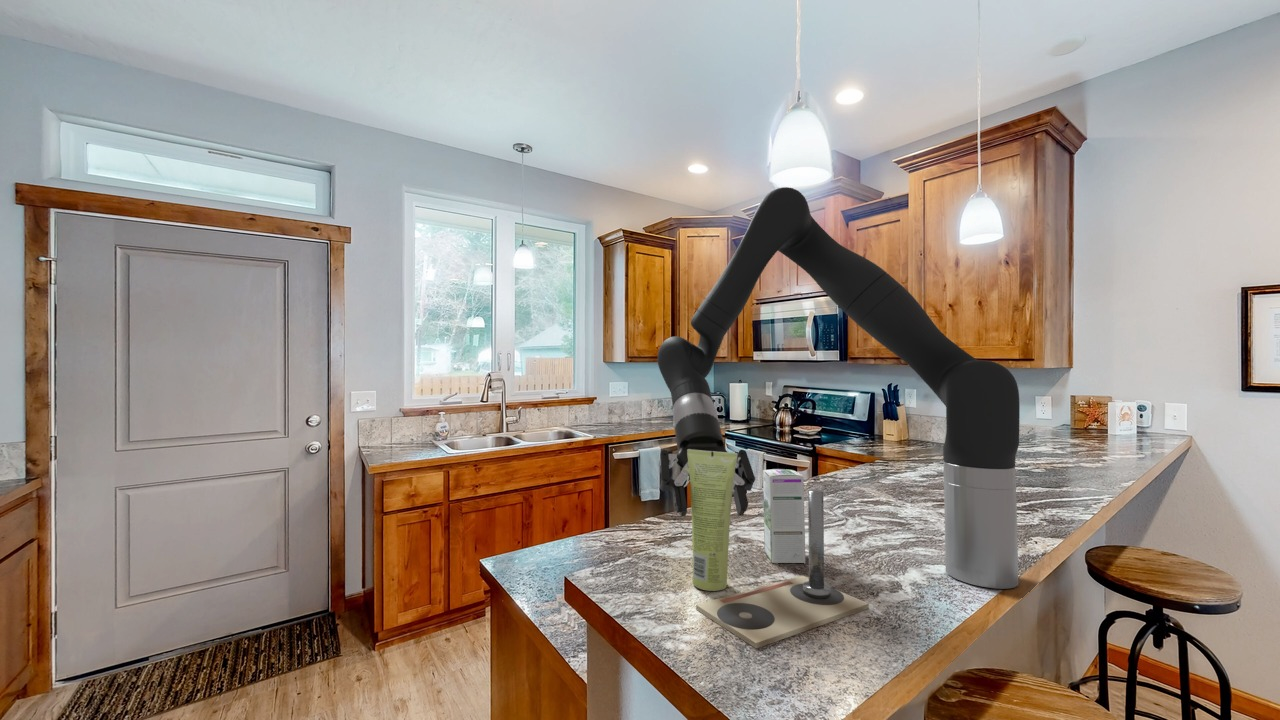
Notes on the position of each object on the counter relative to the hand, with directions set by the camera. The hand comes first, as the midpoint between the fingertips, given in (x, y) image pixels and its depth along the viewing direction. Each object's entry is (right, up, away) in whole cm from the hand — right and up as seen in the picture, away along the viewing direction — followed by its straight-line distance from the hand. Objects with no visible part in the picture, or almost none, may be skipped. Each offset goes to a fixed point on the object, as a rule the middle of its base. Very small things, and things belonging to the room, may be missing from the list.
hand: (713, 513), depth 72 cm
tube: (0, -11, +1) cm, 11 cm away
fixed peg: (+14, -11, -3) cm, 18 cm away
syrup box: (+14, -12, +12) cm, 22 cm away
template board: (+8, -11, -7) cm, 15 cm away
